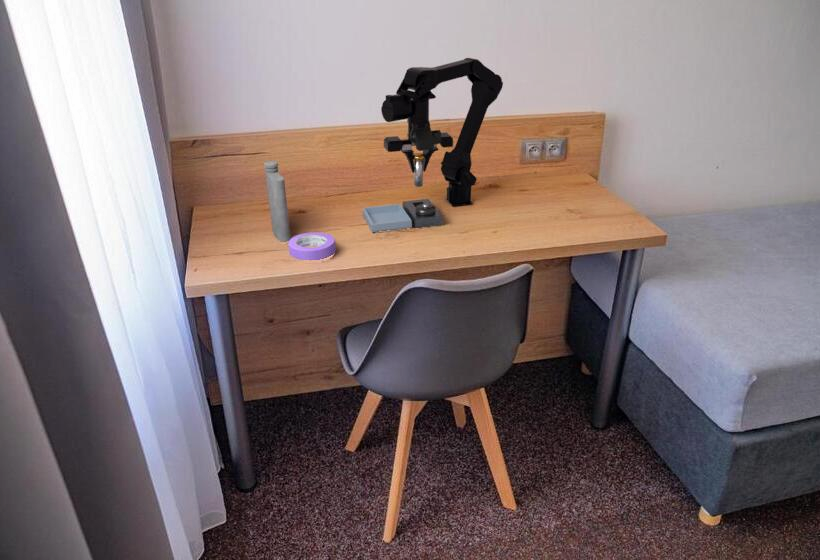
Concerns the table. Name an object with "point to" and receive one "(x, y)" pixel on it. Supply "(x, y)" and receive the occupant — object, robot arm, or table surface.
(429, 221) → the grey holder base
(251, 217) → the table surface
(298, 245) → the masking tape
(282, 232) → the hip flask
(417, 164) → the lock pin
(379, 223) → the tray
